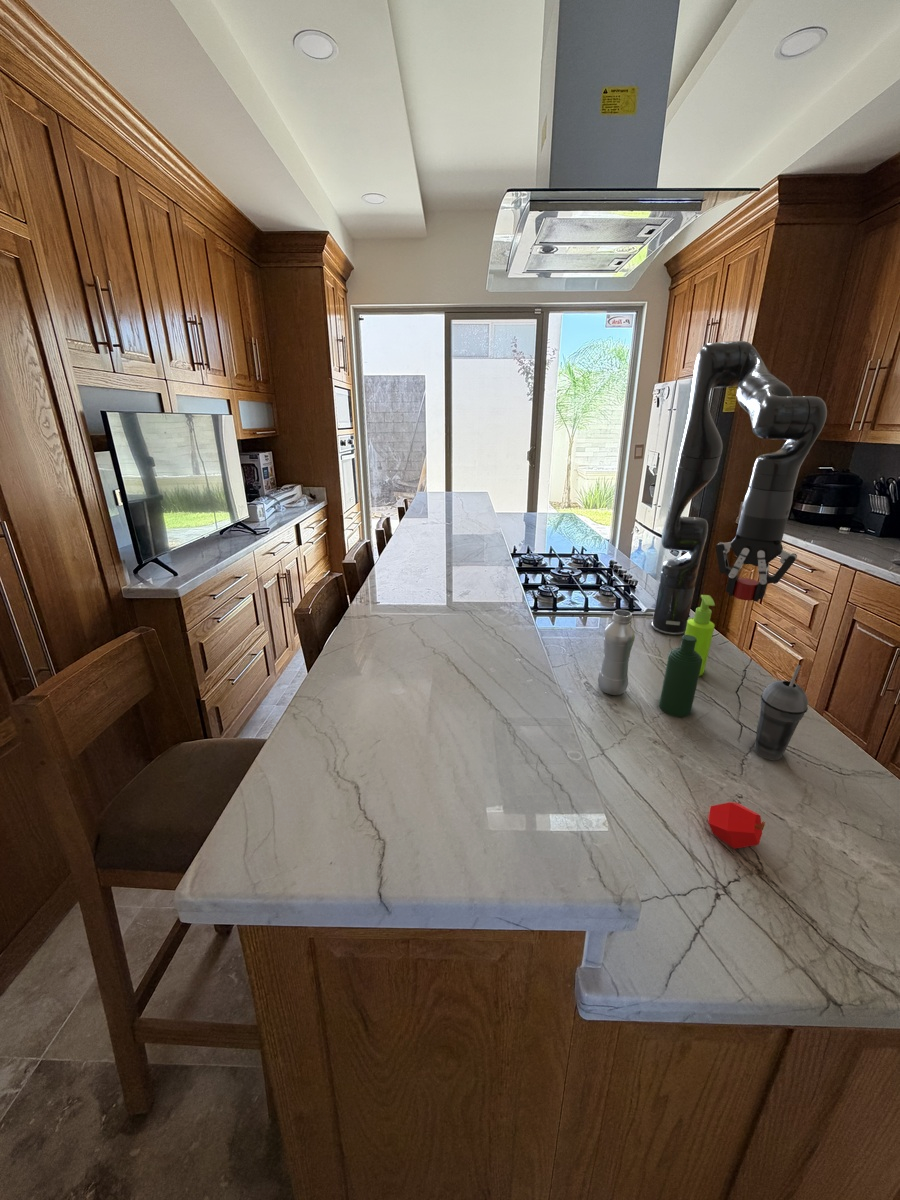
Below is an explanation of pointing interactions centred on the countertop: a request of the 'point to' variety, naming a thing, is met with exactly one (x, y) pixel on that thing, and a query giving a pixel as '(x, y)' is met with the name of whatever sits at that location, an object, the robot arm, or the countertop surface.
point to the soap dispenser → (702, 629)
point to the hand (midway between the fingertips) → (743, 597)
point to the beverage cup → (779, 716)
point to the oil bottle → (681, 678)
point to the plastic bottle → (616, 654)
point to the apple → (736, 824)
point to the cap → (745, 589)
